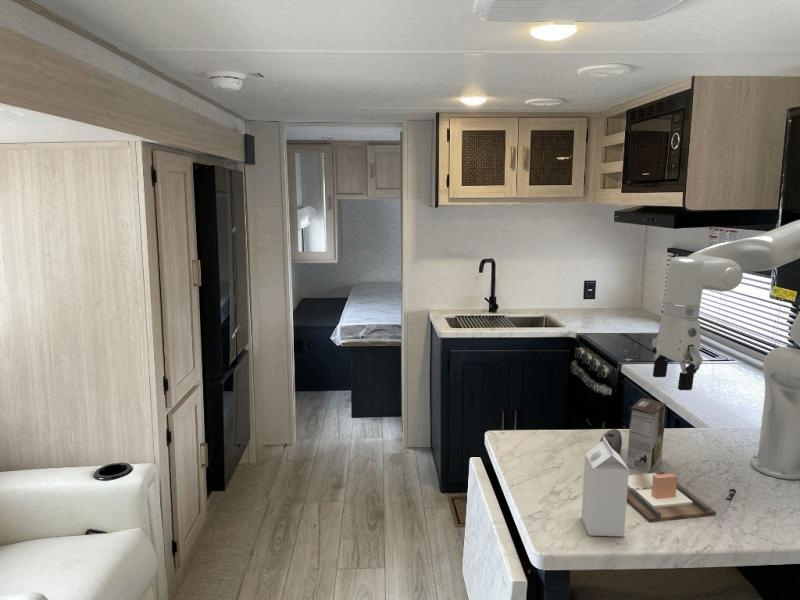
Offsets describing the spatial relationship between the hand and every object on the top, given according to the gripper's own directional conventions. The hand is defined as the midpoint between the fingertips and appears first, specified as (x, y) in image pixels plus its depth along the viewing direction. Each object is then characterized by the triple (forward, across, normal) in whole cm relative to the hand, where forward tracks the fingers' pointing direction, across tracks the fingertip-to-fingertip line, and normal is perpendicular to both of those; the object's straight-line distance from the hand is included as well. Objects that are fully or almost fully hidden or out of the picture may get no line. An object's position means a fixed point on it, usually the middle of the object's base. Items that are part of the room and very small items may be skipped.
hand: (671, 383), depth 142 cm
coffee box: (+26, +12, -4) cm, 29 cm away
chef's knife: (+26, -10, -9) cm, 29 cm away
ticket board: (+26, -4, +3) cm, 27 cm away
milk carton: (+27, -14, +22) cm, 38 cm away
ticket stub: (+25, -7, +3) cm, 26 cm away
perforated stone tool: (+26, +18, +2) cm, 32 cm away
